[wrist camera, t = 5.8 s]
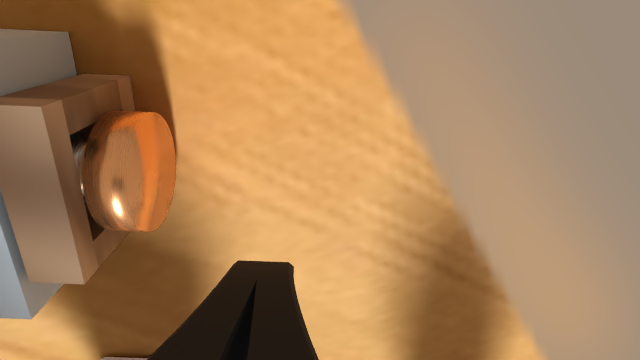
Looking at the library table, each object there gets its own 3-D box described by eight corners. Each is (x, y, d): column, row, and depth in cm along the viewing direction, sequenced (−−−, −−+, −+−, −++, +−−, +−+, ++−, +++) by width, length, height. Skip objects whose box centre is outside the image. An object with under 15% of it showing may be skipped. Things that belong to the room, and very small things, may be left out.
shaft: (169, 100, 17) (116, 132, 13) (180, 198, 19) (137, 255, 15) (-87, 88, 17) (-231, 117, 12) (-50, 189, 19) (-163, 244, 14)
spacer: (149, 207, 20) (84, 284, 14) (110, 206, 20) (29, 282, 14) (130, 75, 17) (41, 106, 12) (84, 73, 17) (-27, 104, 12)
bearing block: (109, 235, 20) (31, 319, 15) (32, 232, 20) (-76, 315, 15) (68, 31, 16) (-59, 43, 11) (-29, 27, 16) (-206, 36, 11)
